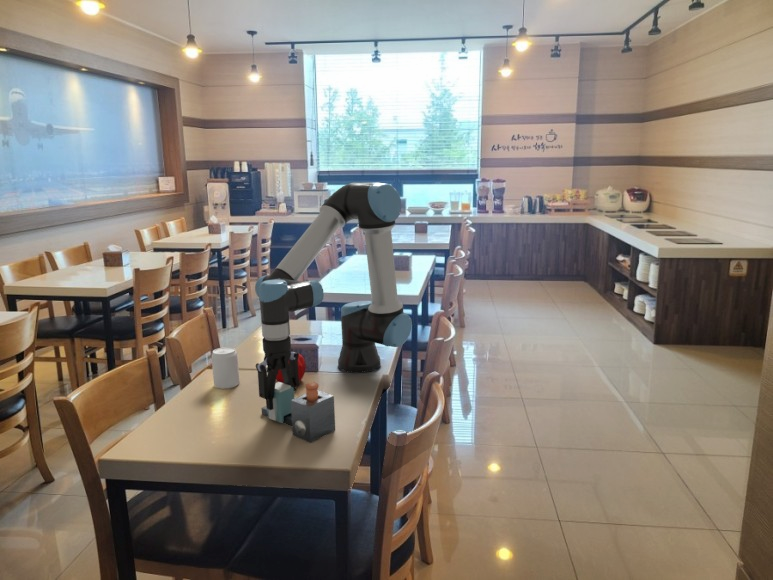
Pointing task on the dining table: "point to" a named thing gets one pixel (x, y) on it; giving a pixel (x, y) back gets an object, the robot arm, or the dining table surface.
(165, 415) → the dining table surface
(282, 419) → the block
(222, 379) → the beverage can
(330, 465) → the dining table surface
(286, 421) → the rail
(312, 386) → the plunger
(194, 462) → the dining table surface
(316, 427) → the grey box
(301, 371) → the tomato
